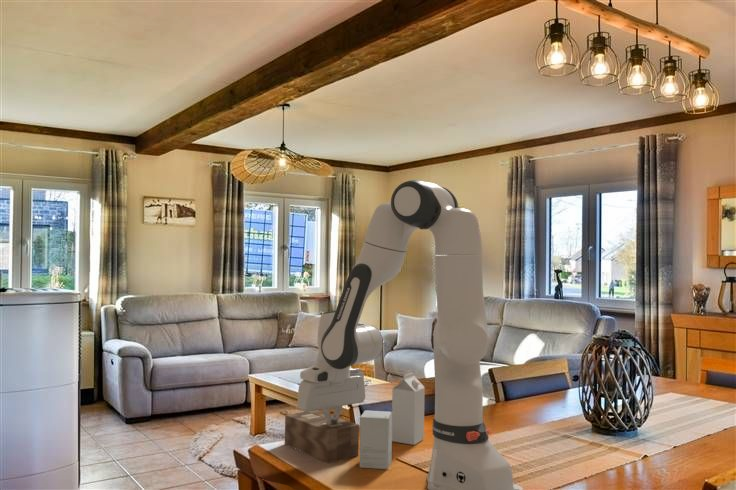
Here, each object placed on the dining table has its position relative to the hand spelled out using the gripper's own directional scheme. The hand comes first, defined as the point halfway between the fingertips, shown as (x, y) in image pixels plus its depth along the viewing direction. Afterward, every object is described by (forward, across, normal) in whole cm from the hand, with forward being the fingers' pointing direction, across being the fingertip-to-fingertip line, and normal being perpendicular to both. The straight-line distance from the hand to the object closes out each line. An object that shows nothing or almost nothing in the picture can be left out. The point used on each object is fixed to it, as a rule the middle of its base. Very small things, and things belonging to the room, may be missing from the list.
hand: (332, 423), depth 162 cm
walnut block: (+8, 0, -5) cm, 9 cm away
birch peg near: (+8, 0, 0) cm, 8 cm away
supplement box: (+8, -4, +13) cm, 16 cm away
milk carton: (+8, -25, +3) cm, 26 cm away
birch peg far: (+8, 0, -10) cm, 13 cm away
